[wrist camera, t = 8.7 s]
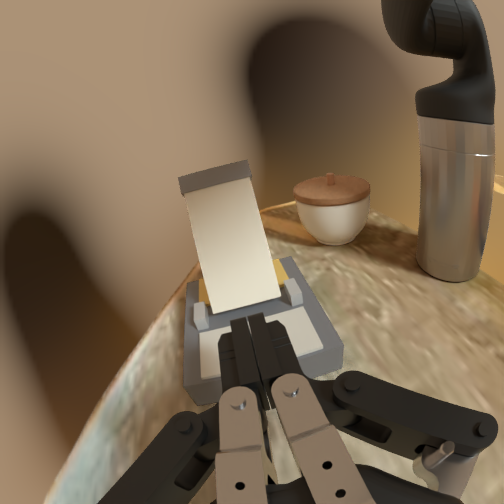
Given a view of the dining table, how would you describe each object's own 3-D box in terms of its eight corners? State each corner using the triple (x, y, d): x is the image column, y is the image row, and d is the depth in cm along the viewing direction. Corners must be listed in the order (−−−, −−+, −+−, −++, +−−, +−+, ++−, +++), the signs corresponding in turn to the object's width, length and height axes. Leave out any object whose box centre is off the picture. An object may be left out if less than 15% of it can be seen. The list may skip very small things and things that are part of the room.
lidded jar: (367, 219, 41) (365, 163, 37) (374, 253, 33) (374, 183, 28) (304, 221, 45) (296, 167, 41) (295, 255, 36) (284, 188, 32)
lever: (284, 295, 23) (247, 159, 24) (210, 314, 23) (177, 177, 23) (280, 293, 25) (246, 167, 26) (213, 311, 25) (182, 184, 25)
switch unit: (342, 368, 20) (344, 333, 18) (197, 405, 19) (176, 377, 17) (294, 277, 32) (289, 246, 30) (195, 303, 31) (183, 274, 29)
